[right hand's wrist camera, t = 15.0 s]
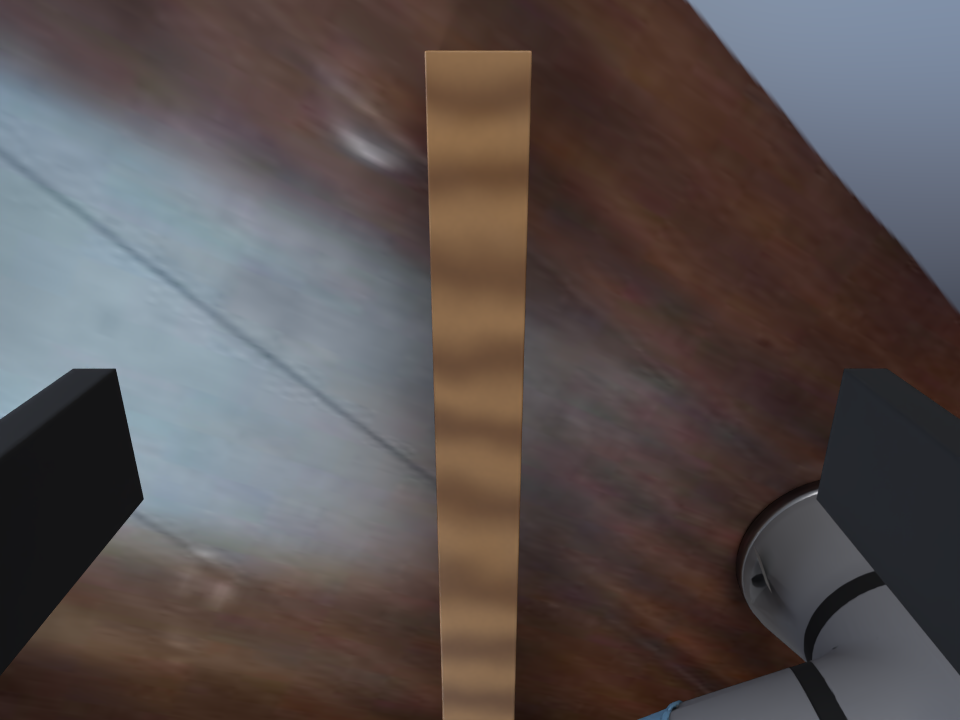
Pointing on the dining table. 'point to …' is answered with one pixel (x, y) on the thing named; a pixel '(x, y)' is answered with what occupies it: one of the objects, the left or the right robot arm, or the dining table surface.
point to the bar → (478, 363)
